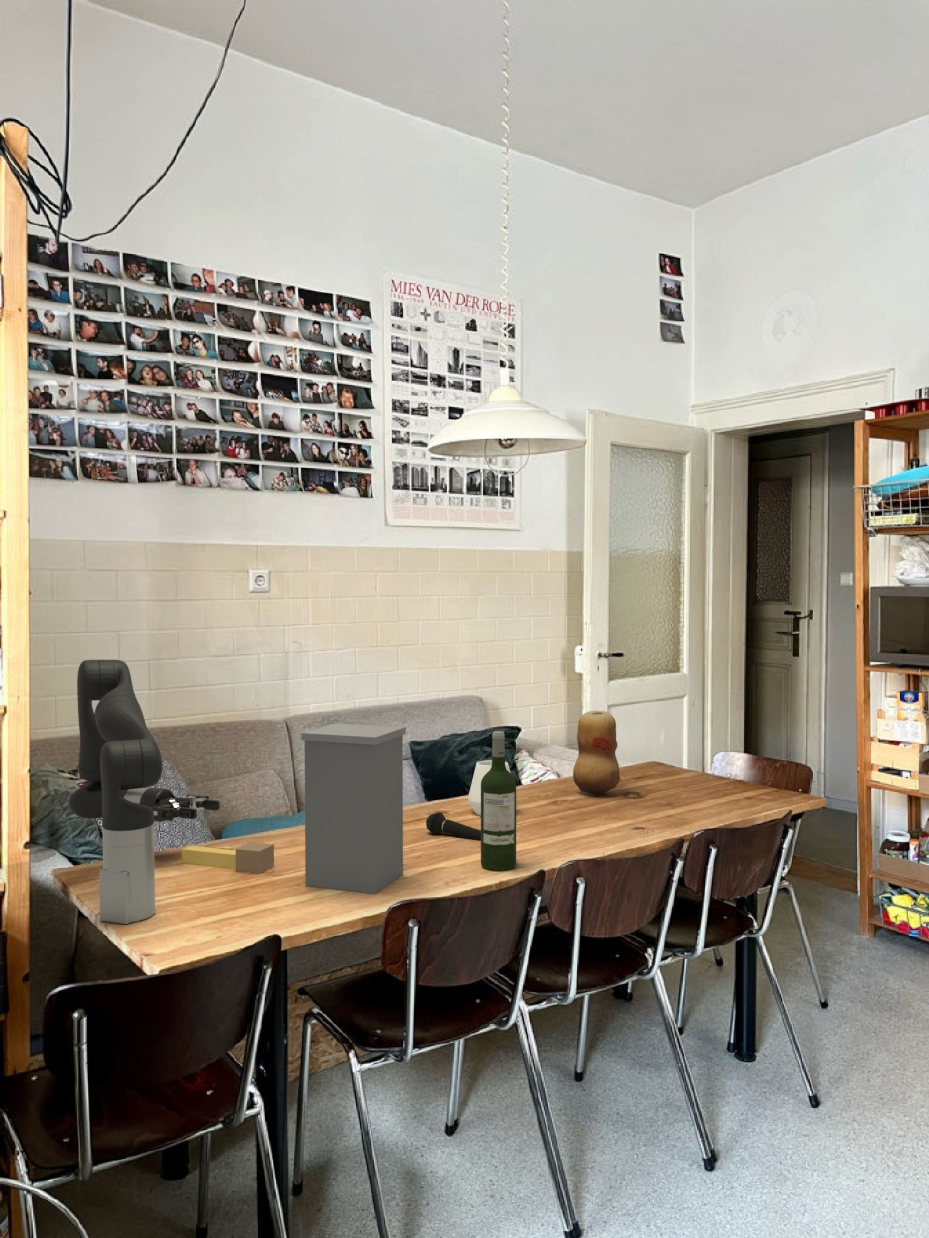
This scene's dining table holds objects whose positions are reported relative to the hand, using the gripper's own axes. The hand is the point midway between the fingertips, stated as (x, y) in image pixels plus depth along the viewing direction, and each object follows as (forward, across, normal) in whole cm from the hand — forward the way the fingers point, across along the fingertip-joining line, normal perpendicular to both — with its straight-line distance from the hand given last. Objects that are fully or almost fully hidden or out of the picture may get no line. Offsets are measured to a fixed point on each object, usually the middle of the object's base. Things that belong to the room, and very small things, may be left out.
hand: (207, 809), depth 213 cm
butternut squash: (+67, +100, +12) cm, 121 cm away
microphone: (+46, +40, +12) cm, 62 cm away
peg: (+5, 0, +12) cm, 13 cm away
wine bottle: (+62, +20, +12) cm, 67 cm away
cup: (+45, +67, +12) cm, 82 cm away
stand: (+37, 0, +12) cm, 39 cm away
